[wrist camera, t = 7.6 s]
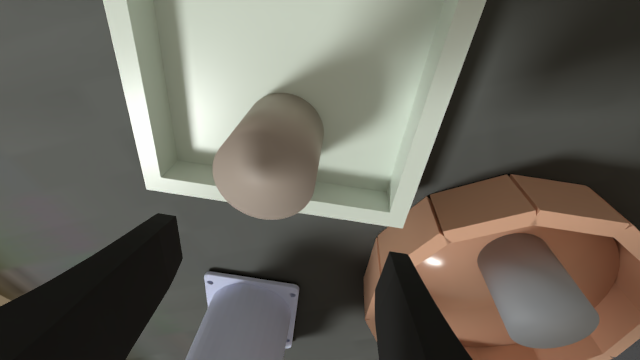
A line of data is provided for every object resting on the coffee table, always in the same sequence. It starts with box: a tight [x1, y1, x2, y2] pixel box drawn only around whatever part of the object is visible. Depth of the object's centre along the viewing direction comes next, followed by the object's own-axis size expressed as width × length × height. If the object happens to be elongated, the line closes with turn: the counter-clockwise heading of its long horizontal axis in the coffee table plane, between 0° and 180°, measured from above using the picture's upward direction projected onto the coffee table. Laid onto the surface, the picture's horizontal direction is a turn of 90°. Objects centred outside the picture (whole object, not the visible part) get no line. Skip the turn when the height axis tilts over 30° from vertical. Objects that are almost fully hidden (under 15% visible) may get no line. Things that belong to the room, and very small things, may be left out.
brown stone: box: [212, 93, 324, 220], centre depth 15 cm, size 4×4×5 cm
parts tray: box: [103, 0, 486, 229], centre depth 15 cm, size 16×15×3 cm
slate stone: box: [477, 233, 599, 349], centre depth 19 cm, size 4×4×5 cm
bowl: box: [363, 174, 640, 360], centre depth 22 cm, size 18×18×4 cm
